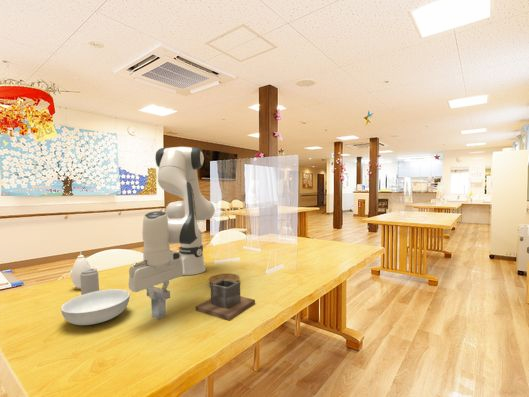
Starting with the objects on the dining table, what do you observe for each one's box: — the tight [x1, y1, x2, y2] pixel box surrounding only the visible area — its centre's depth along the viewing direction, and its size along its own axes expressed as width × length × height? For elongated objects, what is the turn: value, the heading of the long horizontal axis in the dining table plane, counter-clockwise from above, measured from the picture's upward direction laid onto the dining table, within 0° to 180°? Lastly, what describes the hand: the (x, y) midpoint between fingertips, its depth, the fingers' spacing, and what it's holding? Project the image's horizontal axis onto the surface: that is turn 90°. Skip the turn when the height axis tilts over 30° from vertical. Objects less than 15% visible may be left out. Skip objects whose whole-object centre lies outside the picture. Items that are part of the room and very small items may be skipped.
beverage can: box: [80, 268, 100, 296], centre depth 117 cm, size 6×6×12 cm
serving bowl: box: [60, 288, 131, 326], centre depth 98 cm, size 21×21×7 cm
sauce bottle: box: [71, 249, 92, 290], centre depth 129 cm, size 8×8×18 cm
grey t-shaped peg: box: [146, 286, 171, 320], centre depth 99 cm, size 9×3×10 cm, turn 58°
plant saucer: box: [208, 273, 240, 285], centre depth 132 cm, size 15×15×3 cm
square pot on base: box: [195, 279, 256, 321], centre depth 105 cm, size 16×16×9 cm
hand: (158, 295), depth 99 cm, fingers closed on grey t-shaped peg, 3 cm apart
